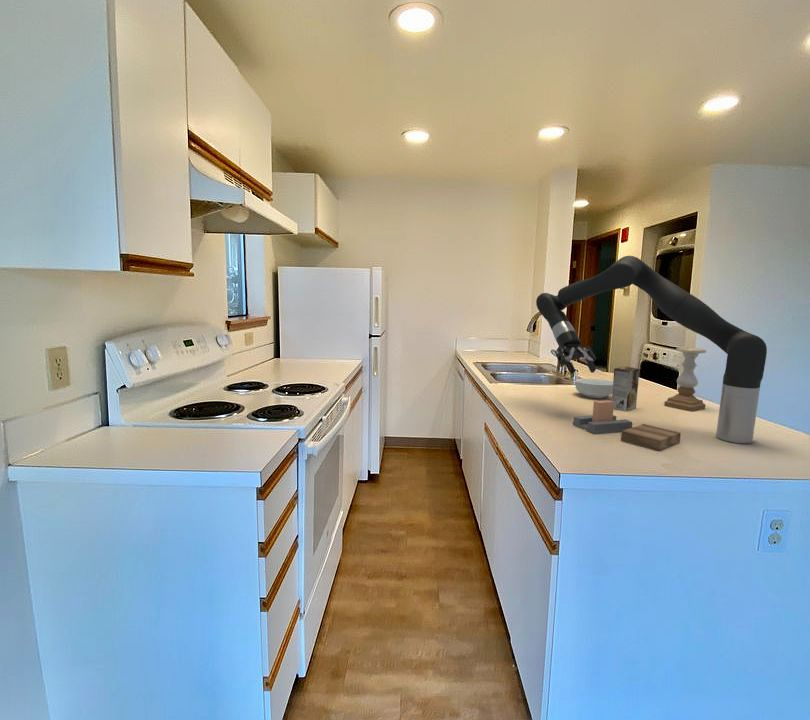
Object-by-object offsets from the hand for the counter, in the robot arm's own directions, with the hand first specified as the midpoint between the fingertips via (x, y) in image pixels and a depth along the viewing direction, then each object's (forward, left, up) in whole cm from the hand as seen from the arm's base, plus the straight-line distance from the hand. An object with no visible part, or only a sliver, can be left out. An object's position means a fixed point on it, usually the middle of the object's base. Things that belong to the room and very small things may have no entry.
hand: (583, 372), depth 156 cm
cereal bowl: (-40, -17, -17) cm, 47 cm away
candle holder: (-54, +14, -17) cm, 58 cm away
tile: (+4, +11, -16) cm, 20 cm away
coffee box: (-30, +1, -17) cm, 34 cm away
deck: (+5, +27, -17) cm, 32 cm away
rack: (+4, +11, -17) cm, 21 cm away
